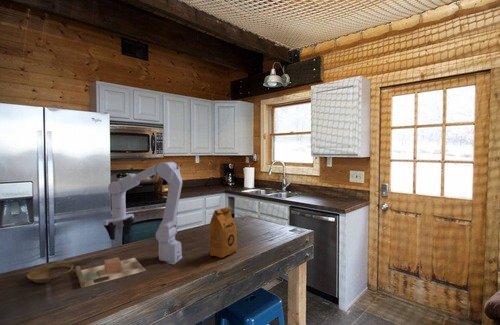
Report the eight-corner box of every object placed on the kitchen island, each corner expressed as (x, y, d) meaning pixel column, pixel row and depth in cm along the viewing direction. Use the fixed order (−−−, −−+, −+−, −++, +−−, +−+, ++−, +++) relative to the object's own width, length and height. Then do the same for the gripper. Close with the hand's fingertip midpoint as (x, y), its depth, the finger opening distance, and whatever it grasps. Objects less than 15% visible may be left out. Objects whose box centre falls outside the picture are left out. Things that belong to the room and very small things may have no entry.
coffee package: (240, 252, 130) (239, 207, 129) (221, 260, 120) (221, 211, 120) (225, 248, 136) (224, 204, 135) (206, 255, 127) (206, 208, 126)
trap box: (134, 260, 122) (134, 253, 122) (146, 273, 108) (146, 265, 108) (76, 274, 108) (75, 266, 108) (81, 291, 95) (81, 282, 95)
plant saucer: (49, 268, 115) (49, 262, 115) (82, 269, 113) (82, 263, 113) (16, 285, 100) (16, 278, 100) (53, 286, 99) (52, 279, 99)
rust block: (118, 266, 112) (117, 257, 112) (121, 270, 108) (120, 261, 108) (104, 270, 109) (104, 260, 109) (107, 274, 105) (106, 264, 105)
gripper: (126, 204, 132) (127, 231, 132) (98, 209, 119) (99, 240, 119) (136, 205, 129) (137, 233, 129) (108, 211, 116) (109, 242, 116)
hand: (119, 237), depth 124 cm, fingers open, 7 cm apart
